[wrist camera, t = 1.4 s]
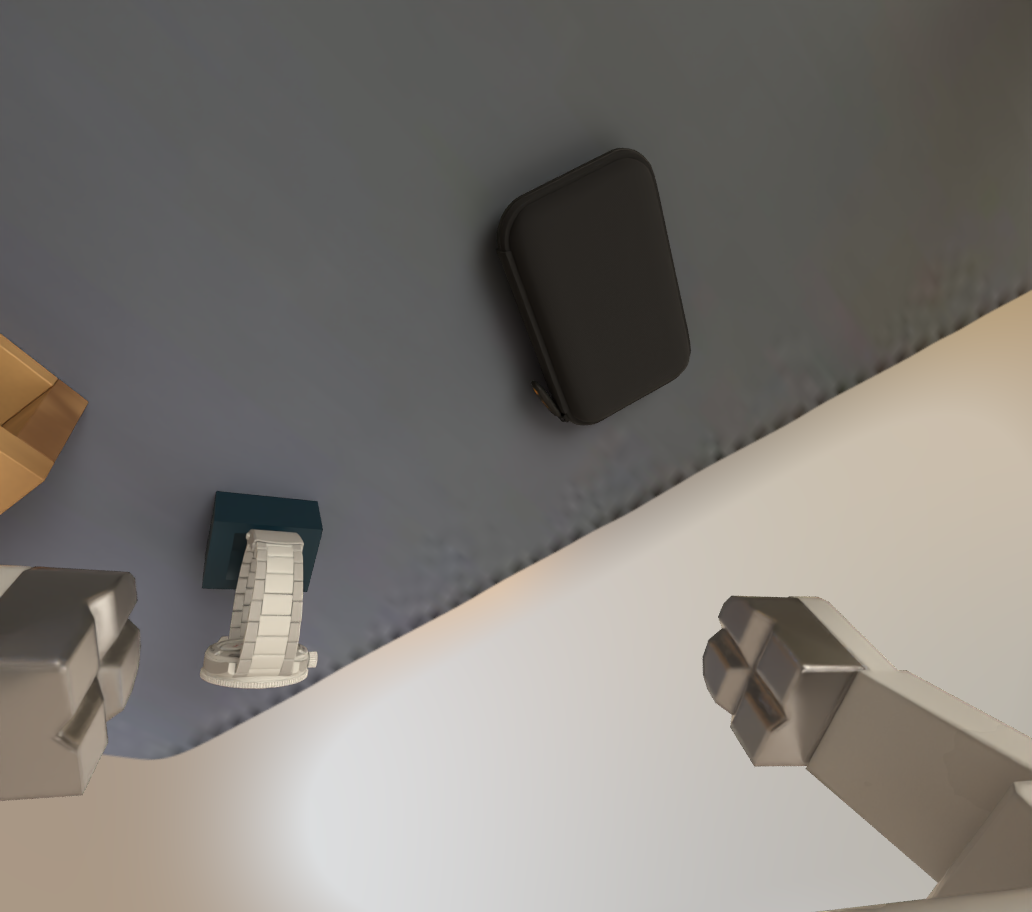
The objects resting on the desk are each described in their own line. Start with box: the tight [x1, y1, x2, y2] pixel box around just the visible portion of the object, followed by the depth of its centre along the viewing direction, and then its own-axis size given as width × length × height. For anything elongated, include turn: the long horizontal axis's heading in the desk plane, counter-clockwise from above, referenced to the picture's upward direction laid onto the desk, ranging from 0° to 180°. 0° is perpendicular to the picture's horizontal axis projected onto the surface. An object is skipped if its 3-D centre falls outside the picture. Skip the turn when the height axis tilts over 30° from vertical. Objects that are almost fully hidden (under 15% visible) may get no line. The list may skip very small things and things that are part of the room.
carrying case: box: [496, 148, 691, 425], centre depth 36 cm, size 11×3×15 cm
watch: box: [200, 491, 323, 689], centre depth 32 cm, size 6×8×11 cm
